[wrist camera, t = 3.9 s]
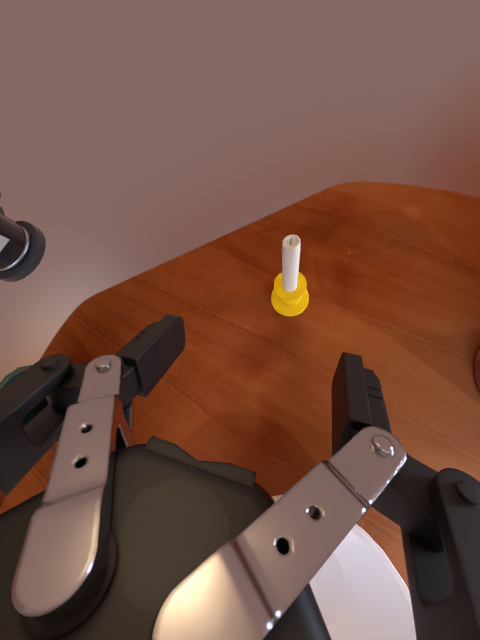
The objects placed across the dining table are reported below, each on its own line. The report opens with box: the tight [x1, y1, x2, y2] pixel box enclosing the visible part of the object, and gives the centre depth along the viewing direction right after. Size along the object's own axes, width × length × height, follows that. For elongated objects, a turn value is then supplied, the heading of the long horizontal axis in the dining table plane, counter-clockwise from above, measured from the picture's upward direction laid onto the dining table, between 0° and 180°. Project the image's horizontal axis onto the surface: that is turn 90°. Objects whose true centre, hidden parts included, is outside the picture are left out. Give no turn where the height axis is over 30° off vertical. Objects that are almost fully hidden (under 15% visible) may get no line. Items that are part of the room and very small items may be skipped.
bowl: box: [271, 495, 417, 640], centre depth 24 cm, size 20×20×7 cm
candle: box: [271, 235, 309, 316], centre depth 27 cm, size 5×5×16 cm
